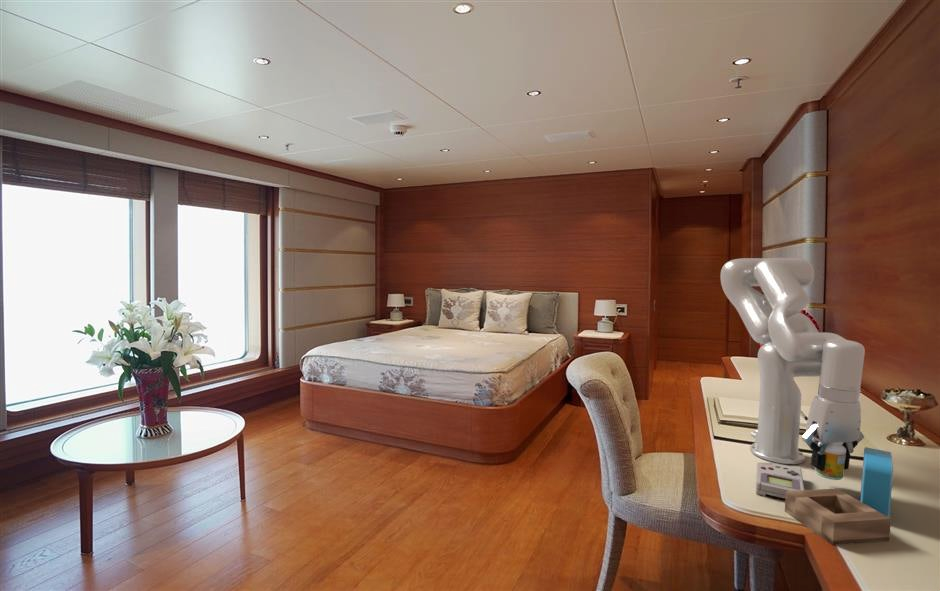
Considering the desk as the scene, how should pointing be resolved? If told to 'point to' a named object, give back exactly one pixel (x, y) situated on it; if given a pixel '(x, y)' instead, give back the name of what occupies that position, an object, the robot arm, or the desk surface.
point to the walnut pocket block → (837, 516)
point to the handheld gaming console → (778, 479)
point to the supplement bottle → (833, 461)
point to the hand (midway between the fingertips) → (829, 466)
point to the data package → (877, 480)
